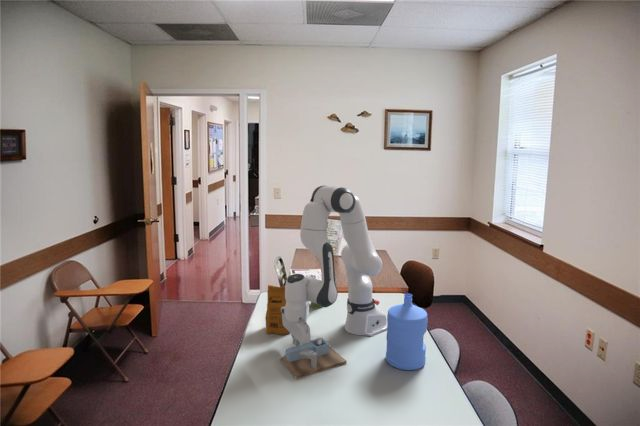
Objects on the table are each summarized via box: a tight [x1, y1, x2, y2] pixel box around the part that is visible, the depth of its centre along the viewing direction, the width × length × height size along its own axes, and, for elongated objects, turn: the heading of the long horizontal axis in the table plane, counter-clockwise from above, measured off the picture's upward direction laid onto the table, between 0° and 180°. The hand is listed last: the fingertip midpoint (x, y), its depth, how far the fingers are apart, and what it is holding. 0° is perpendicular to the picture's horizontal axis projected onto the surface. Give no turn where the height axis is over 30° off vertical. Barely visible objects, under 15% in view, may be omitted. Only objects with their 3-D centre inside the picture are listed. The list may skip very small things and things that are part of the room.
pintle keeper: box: [299, 337, 322, 369], centre depth 171 cm, size 16×6×6 cm, turn 157°
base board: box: [279, 345, 347, 379], centre depth 172 cm, size 22×15×1 cm
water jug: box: [385, 293, 429, 371], centre depth 171 cm, size 16×16×28 cm
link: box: [285, 337, 330, 362], centre depth 175 cm, size 17×6×4 cm, turn 119°
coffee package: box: [265, 284, 291, 336], centre depth 198 cm, size 10×12×22 cm
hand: (296, 344), depth 180 cm, fingers closed
